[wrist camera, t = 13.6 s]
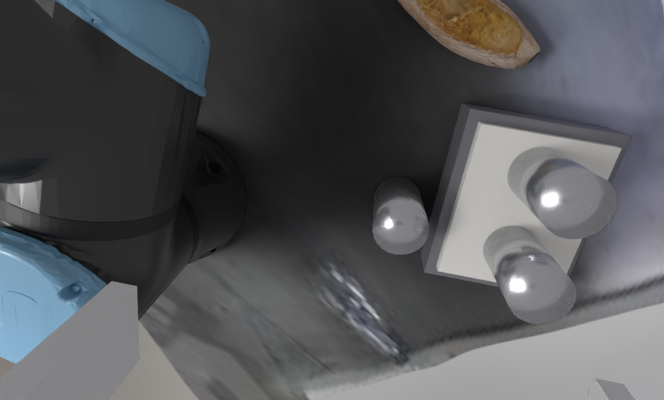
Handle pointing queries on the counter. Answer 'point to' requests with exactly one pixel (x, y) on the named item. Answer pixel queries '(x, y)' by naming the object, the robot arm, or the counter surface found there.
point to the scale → (504, 186)
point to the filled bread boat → (476, 30)
